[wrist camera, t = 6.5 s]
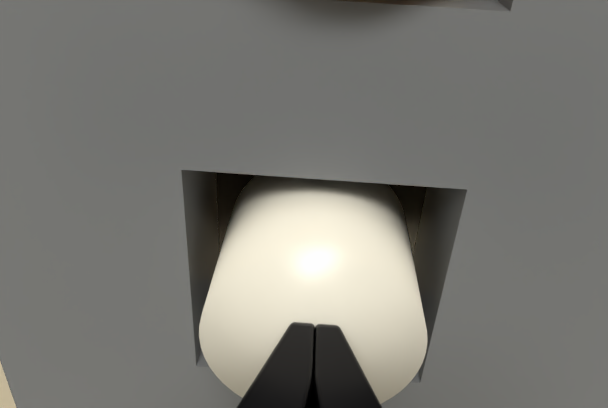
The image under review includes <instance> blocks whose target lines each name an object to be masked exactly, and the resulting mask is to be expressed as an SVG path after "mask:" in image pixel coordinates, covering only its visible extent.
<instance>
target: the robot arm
mask: <svg viewBox="0 0 608 408" xmlns="http://www.w3.org/2000/svg"><path fill="white" fill-rule="evenodd" d="M236 408H382V406H381V404H380V402H379V400H378V399H377V397H376V395H375V393H374V391H373V389H372V387H371V385H370V383H369V381H368V380H367V378H366V376H365V374H364V372H363V370H362V368H361V366H360V364H359V362H358V360H357V359H356V357H355V355H354V353H353V351H352V349H351V347H350V345H349V343H348V341H347V339H346V338H345V336H344V334H343V332H342V330H341V328H340V327H339V326H337V325H329V324H317V325H316V327H315V326H314V324H312V323H302V322H293V323H291V324H290V325H289V327H288V328H287V330H286V331H285V333H284V334H283V336H282V337H281V339H280V340H279V342H278V344H277V345H276V347H275V348H274V350H273V351H272V353H271V354H270V356H269V358H268V359H267V361H266V362H265V364H264V365H263V367H262V368H261V370H260V372H259V373H258V375H257V376H256V378H255V379H254V381H253V382H252V384H251V386H250V387H249V389H248V390H247V392H246V393H245V395H244V396H243V398H242V400H241V401H240V403H239V404H238V406H237V407H236Z"/></svg>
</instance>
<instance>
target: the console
mask: <svg viewBox="0 0 608 408" xmlns="http://www.w3.org/2000/svg"><path fill="white" fill-rule="evenodd" d="M216 172H220V173H235V174H249V175H264V176H278V177H293V178H307V179H322V180H336V181H351V182H365V183H380V184H394V185H409V186H423V187H427V188H426V193H425V198H424V203H423V208H422V213H421V218H420V224H419V229H418V234H417V239H416V244H415V249H414V254H413V261H414V266H415V271H416V276H417V282H418V287H419V292H420V297H421V302H422V308H423V313H424V318H425V323H426V329H427V349H426V354H425V357H424V360H423V363H422V365H421V367H420V369H419V371H418V372H417V374H416V375H415V376H414V378H413V379H412V380H411V382H410V383H409V384H408V385H407V386H406V387H405V388H404V389H403V390H401V391H400V392H399V393H397V394H396V395H395V396H393V397H392V398H390V399H389V400H387V401H385V402H383V403H381V406H382V408H608V0H0V361H1V364H2V367H3V370H4V373H5V376H6V378H7V381H8V384H9V387H10V390H11V393H12V396H13V399H14V401H15V404H16V407H17V408H236V407H237V406H238V404H239V403H240V401H241V400H242V397H240V396H239V395H237V394H236V393H234V392H233V391H232V390H230V389H229V388H228V387H227V386H226V385H224V384H223V383H222V382H221V381H220V380H219V378H218V377H217V376H216V375H215V374H214V372H213V371H212V370H211V368H210V367H209V365H208V363H207V361H206V359H205V358H204V355H203V352H202V349H201V345H200V339H199V324H200V320H201V315H202V311H203V308H204V305H205V301H206V298H207V295H208V291H209V288H210V284H211V281H212V278H213V274H214V271H215V267H216V264H217V261H218V257H219V234H218V208H217V182H216Z"/></svg>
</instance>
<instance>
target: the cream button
mask: <svg viewBox="0 0 608 408" xmlns="http://www.w3.org/2000/svg"><path fill="white" fill-rule="evenodd" d="M293 322H302V323H312V324H314V326H315V327H316V325H317V324H329V325H337V326H339V327H340V328H341V330H342V332H343V334H344V336H345V338H346V339H347V341H348V343H349V345H350V347H351V349H352V351H353V353H354V355H355V357H356V359H357V360H358V362H359V364H360V366H361V368H362V370H363V372H364V374H365V376H366V378H367V380H368V381H369V383H370V385H371V387H372V389H373V391H374V393H375V395H376V397H377V399H378V400H379V402H380V404H381V403H383V402H385V401H387V400H389V399H390V398H392V397H393V396H395V395H396V394H397V393H399V392H400V391H401V390H403V389H404V388H405V387H406V386H407V385H408V384H409V383H410V382H411V380H412V379H413V378H414V376H415V375H416V374H417V372H418V371H419V369H420V367H421V365H422V363H423V360H424V357H425V354H426V349H427V329H426V323H425V318H424V313H423V308H422V302H421V297H420V292H419V287H418V282H417V276H416V271H415V266H414V261H413V256H412V250H411V245H410V240H409V235H408V230H407V224H406V219H405V215H404V211H403V208H402V206H401V203H400V201H399V199H398V197H397V196H396V194H395V192H394V191H393V190H392V189H391V187H390V186H389V185H388V184H380V183H365V182H351V181H336V180H322V179H307V178H293V177H278V176H264V175H256V176H255V177H254V178H252V179H251V180H250V181H249V182H248V183H247V185H246V186H245V187H244V188H243V189H242V191H241V192H240V194H239V196H238V198H237V199H236V202H235V204H234V207H233V210H232V213H231V217H230V220H229V223H228V227H227V230H226V234H225V237H224V240H223V244H222V247H221V251H220V254H219V257H218V261H217V264H216V267H215V271H214V274H213V278H212V281H211V284H210V288H209V291H208V295H207V298H206V301H205V305H204V308H203V311H202V315H201V320H200V324H199V339H200V345H201V349H202V352H203V355H204V358H205V359H206V361H207V363H208V365H209V367H210V368H211V370H212V371H213V372H214V374H215V375H216V376H217V377H218V378H219V380H220V381H221V382H222V383H223V384H224V385H226V386H227V387H228V388H229V389H230V390H232V391H233V392H234V393H236V394H237V395H239V396H240V397H242V398H243V396H244V395H245V393H246V392H247V390H248V389H249V387H250V386H251V384H252V382H253V381H254V379H255V378H256V376H257V375H258V373H259V372H260V370H261V368H262V367H263V365H264V364H265V362H266V361H267V359H268V358H269V356H270V354H271V353H272V351H273V350H274V348H275V347H276V345H277V344H278V342H279V340H280V339H281V337H282V336H283V334H284V333H285V331H286V330H287V328H288V327H289V325H290V324H291V323H293Z"/></svg>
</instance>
